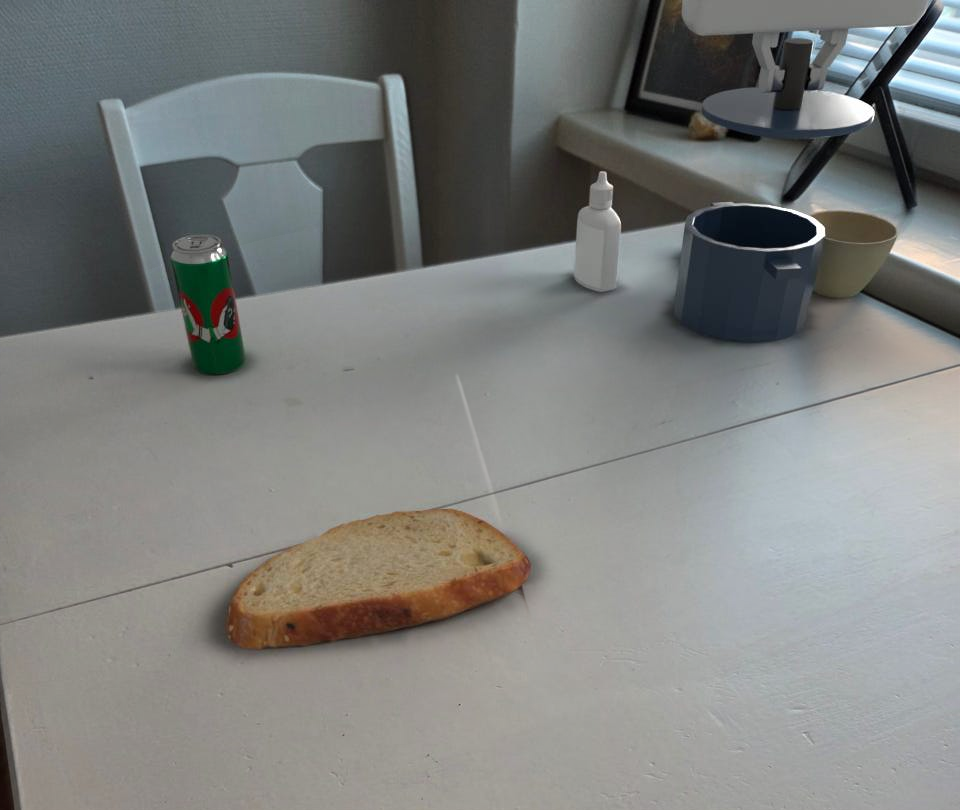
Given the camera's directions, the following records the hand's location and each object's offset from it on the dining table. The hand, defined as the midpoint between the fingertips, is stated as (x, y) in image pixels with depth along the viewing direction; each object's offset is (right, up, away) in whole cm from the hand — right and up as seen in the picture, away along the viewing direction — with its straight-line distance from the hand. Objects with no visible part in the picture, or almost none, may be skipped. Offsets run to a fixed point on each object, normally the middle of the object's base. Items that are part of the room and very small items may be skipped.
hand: (789, 90), depth 85 cm
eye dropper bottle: (-14, -8, +26) cm, 31 cm away
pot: (+1, -13, +20) cm, 24 cm away
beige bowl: (+13, -9, +25) cm, 29 cm away
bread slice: (-34, -45, -15) cm, 58 cm away
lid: (0, -1, +1) cm, 2 cm away
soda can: (-52, -21, +11) cm, 57 cm away
